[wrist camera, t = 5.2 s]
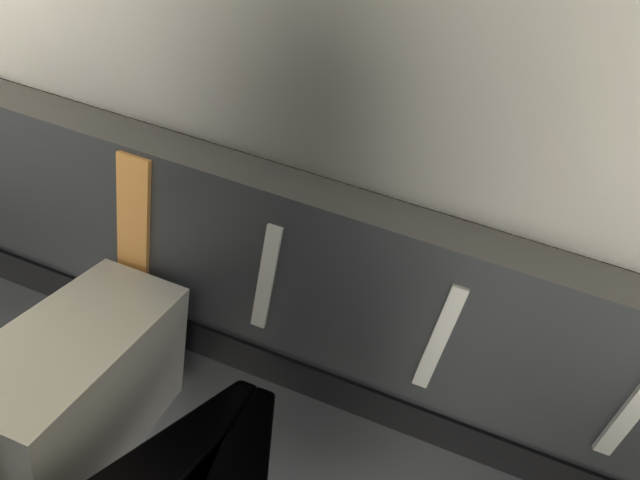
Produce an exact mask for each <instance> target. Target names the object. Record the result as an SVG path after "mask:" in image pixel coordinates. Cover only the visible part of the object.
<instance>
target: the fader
mask: <svg viewBox="0 0 640 480" xmlns="http://www.w3.org/2000/svg"><path fill="white" fill-rule="evenodd" d="M189 291H190V289H189V288H186V287H183V286H180V285H178V284H175V283H172V282H169V281H167V280H164V279H161V278H158V277H156V276H153V275H150V274H147V273H145V272H142V271H139V270H136V269H134V268H131V267H128V266H125V265H123V264H120V263H117V262H114V261H112V260H109V259H104V260H102V261H101V262H99V263H98V264H96V265H95V266H93V267H92V268H90V269H89V270H87V271H86V272H84V273H83V274H81V275H80V276H78V277H77V278H75V279H74V280H72V281H71V282H69V283H68V284H66V285H65V286H63V287H62V288H60V289H59V290H57V291H56V292H54V293H53V294H51V295H50V296H48V297H47V298H45V299H44V300H42V301H41V302H39V303H38V304H36V305H35V306H33V307H32V308H30V309H29V310H27V311H26V312H24V313H23V314H21V315H20V316H18V317H17V318H15V319H14V320H12V321H11V322H9V323H8V324H6V325H5V326H3V327H2V328H0V480H87V479H88V478H90V477H91V476H93V475H94V474H96V473H97V472H99V471H100V470H102V469H104V468H105V467H107V466H108V465H110V464H111V463H113V462H114V461H116V460H117V459H119V458H120V457H122V456H123V455H125V454H126V453H128V452H130V451H131V450H133V449H134V448H136V447H137V446H139V445H140V443H141V442H142V441H143V439H144V438H145V437H146V436H147V434H148V433H149V432H150V430H151V429H152V428H153V426H154V425H155V424H156V423H157V421H158V420H159V419H160V417H161V416H162V415H163V413H164V412H165V411H166V410H167V408H168V407H169V406H170V404H171V403H172V402H173V400H174V399H175V398H176V397H177V395H178V394H179V393H180V391H181V390H182V379H183V367H184V354H185V341H186V329H187V316H188V303H189Z"/></svg>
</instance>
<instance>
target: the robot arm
mask: <svg viewBox="0 0 640 480" xmlns="http://www.w3.org/2000/svg"><path fill="white" fill-rule="evenodd" d="M274 404H275V394H274V393H273V392H271V391H268V390H266V389H263V388H261V387H257V386H256V385H253V384H251V383H248V382H246V381H243V380H239V381H237V382H235V383H233V384H232V385H230V386H229V387H227V388H226V389H224V390H223V391H221V392H220V393H218V394H217V395H215V396H214V397H212V398H211V399H209V400H207V401H206V402H204V403H203V404H201V405H200V406H198V407H197V408H195V409H194V410H192V411H191V412H189V413H188V414H186V415H185V416H183V417H181V418H180V419H178V420H177V421H175V422H174V423H172V424H171V425H169V426H168V427H166V428H165V429H163V430H162V431H160V432H159V433H157V434H155V435H154V436H152V437H151V438H149V439H148V440H146V441H145V442H143V443H142V444H140V445H139V446H137V447H136V448H134V449H133V450H131V451H130V452H128V453H126V454H125V455H123V456H122V457H120V458H119V459H117V460H116V461H114V462H113V463H111V464H110V465H108V466H107V467H105V468H104V469H102V470H100V471H99V472H97V473H96V474H94V475H93V476H91V477H90V478H88V479H87V480H268V471H269V460H270V449H271V438H272V427H273V416H274Z"/></svg>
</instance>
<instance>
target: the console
mask: <svg viewBox="0 0 640 480" xmlns="http://www.w3.org/2000/svg"><path fill="white" fill-rule="evenodd" d="M104 259H109V260H112V261H114V262H117V263H120V264H123V265H125V266H128V267H131V268H134V269H136V270H139V271H142V272H145V273H147V274H150V275H153V276H156V277H158V278H161V279H164V280H167V281H169V282H172V283H175V284H178V285H180V286H183V287H186V288H189V289H190V291H189V303H188V316H187V329H186V341H185V354H184V367H183V379H182V390H181V391H180V393H179V394H178V395H177V397H176V398H175V399H174V400H173V402H172V403H171V404H170V406H169V407H168V408H167V410H166V411H165V412H164V413H163V415H162V416H161V417H160V419H159V420H158V421H157V423H156V424H155V425H154V426H153V428H152V429H151V430H150V432H149V433H148V434H147V436H146V437H145V438H144V439H143V441H142V442H141V443H140V444H142V443H143V442H145V441H146V440H148V439H149V438H151V437H152V436H154V435H155V434H157V433H159V432H160V431H162V430H163V429H165V428H166V427H168V426H169V425H171V424H172V423H174V422H175V421H177V420H178V419H180V418H181V417H183V416H185V415H186V414H188V413H189V412H191V411H192V410H194V409H195V408H197V407H198V406H200V405H201V404H203V403H204V402H206V401H207V400H209V399H211V398H212V397H214V396H215V395H217V394H218V393H220V392H221V391H223V390H224V389H226V388H227V387H229V386H230V385H232V384H233V383H235V382H237V381H239V380H243V381H246V382H248V383H251V384H253V385H256V386H257V387H261V388H263V389H266V390H268V391H271V392H273V393H274V394H275V404H274V416H273V427H272V438H271V449H270V460H269V471H268V480H640V274H639V273H635V272H632V271H629V270H626V269H622V268H619V267H616V266H612V265H609V264H606V263H603V262H599V261H596V260H593V259H590V258H586V257H583V256H580V255H576V254H573V253H570V252H567V251H563V250H560V249H557V248H554V247H550V246H547V245H544V244H540V243H537V242H534V241H531V240H527V239H524V238H521V237H518V236H514V235H511V234H508V233H504V232H501V231H498V230H495V229H491V228H488V227H485V226H482V225H478V224H475V223H472V222H468V221H465V220H462V219H459V218H455V217H452V216H449V215H446V214H442V213H439V212H436V211H432V210H429V209H426V208H423V207H419V206H416V205H413V204H410V203H406V202H403V201H400V200H396V199H393V198H390V197H387V196H383V195H380V194H377V193H374V192H370V191H367V190H364V189H361V188H357V187H354V186H351V185H347V184H344V183H341V182H338V181H334V180H331V179H328V178H325V177H321V176H318V175H315V174H311V173H308V172H305V171H302V170H298V169H295V168H292V167H289V166H285V165H282V164H279V163H275V162H272V161H269V160H266V159H262V158H259V157H256V156H253V155H249V154H246V153H243V152H239V151H236V150H233V149H230V148H226V147H223V146H220V145H217V144H213V143H210V142H207V141H203V140H200V139H197V138H194V137H190V136H187V135H184V134H181V133H177V132H174V131H171V130H167V129H164V128H161V127H158V126H154V125H151V124H148V123H145V122H141V121H138V120H135V119H132V118H128V117H125V116H122V115H118V114H115V113H112V112H109V111H105V110H102V109H99V108H96V107H92V106H89V105H86V104H82V103H79V102H76V101H73V100H69V99H66V98H63V97H60V96H56V95H53V94H50V93H46V92H43V91H40V90H37V89H33V88H30V87H27V86H24V85H20V84H17V83H14V82H10V81H7V80H4V79H1V78H0V328H2V327H3V326H5V325H6V324H8V323H9V322H11V321H12V320H14V319H15V318H17V317H18V316H20V315H21V314H23V313H24V312H26V311H27V310H29V309H30V308H32V307H33V306H35V305H36V304H38V303H39V302H41V301H42V300H44V299H45V298H47V297H48V296H50V295H51V294H53V293H54V292H56V291H57V290H59V289H60V288H62V287H63V286H65V285H66V284H68V283H69V282H71V281H72V280H74V279H75V278H77V277H78V276H80V275H81V274H83V273H84V272H86V271H87V270H89V269H90V268H92V267H93V266H95V265H96V264H98V263H99V262H101V261H102V260H104Z"/></svg>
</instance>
